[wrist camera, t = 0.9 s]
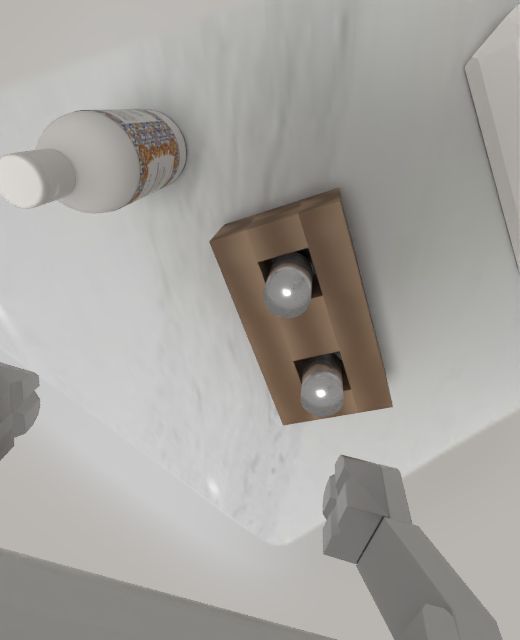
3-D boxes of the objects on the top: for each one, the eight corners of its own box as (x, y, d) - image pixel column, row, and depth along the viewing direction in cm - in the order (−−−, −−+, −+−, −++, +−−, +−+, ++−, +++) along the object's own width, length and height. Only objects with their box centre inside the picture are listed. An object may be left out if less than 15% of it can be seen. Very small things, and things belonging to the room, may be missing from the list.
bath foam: (169, 199, 42) (56, 266, 24) (109, 160, 41) (-53, 201, 24) (200, 137, 39) (95, 162, 21) (135, 93, 38) (-30, 82, 20)
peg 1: (306, 247, 38) (302, 268, 33) (317, 285, 39) (316, 311, 34) (265, 259, 39) (256, 281, 34) (278, 296, 40) (271, 322, 35)
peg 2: (336, 346, 42) (337, 378, 37) (345, 377, 44) (348, 412, 39) (298, 354, 43) (295, 386, 38) (309, 384, 45) (307, 419, 40)
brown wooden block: (338, 188, 39) (339, 200, 34) (385, 373, 48) (392, 406, 42) (224, 224, 42) (209, 241, 37) (287, 392, 51) (283, 425, 46)
